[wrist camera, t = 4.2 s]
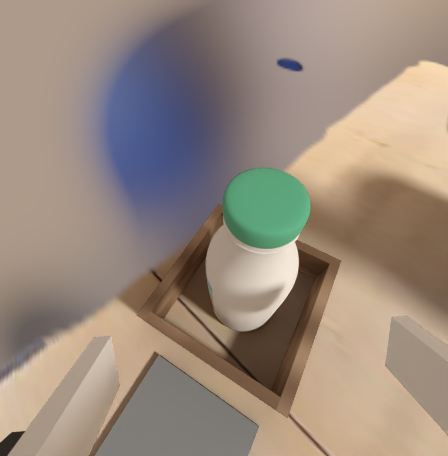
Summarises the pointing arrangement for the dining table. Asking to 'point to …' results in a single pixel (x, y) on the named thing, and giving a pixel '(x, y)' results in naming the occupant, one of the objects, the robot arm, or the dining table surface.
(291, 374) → the walnut frame
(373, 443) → the dining table surface
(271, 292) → the milk bottle
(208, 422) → the slate mat
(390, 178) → the dining table surface
